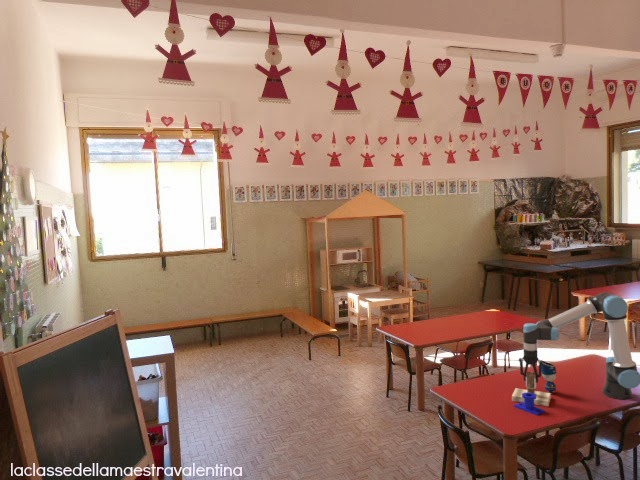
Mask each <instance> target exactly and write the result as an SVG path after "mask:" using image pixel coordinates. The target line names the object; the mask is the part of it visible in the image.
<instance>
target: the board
mask: <svg viewBox="0 0 640 480" xmlns="http://www.w3.org/2000/svg"><path fill="white" fill-rule="evenodd" d="M523 393H528V389H524V388H517V387H515V389H514V391H513V392H512V395H511V401H512V402H518V403H521V402H524V398H523V397H522V394H523ZM533 394H535V395H536V399H534V405H537V406H543V407H549V406H550V402H551V397H552V395H551V394H552V393H549V392H547V391H546V392H545V391H540V390H539V391H538V390H535V393H533Z"/></svg>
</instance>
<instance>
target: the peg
mask: <svg viewBox="0 0 640 480" xmlns="http://www.w3.org/2000/svg"><path fill="white" fill-rule="evenodd" d="M526 375H527V387H526V388H527V390H528V393H535V391H536V388H534V377H535V373H534V371H527V374H526Z"/></svg>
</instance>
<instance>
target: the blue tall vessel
mask: <svg viewBox="0 0 640 480" xmlns="http://www.w3.org/2000/svg"><path fill="white" fill-rule="evenodd" d="M542 361H543V362H542V370H541V376H542V377H543V379H544V380H546V383H545V385H544V390H545V391H546V392H548V393H551V394H554V392H556V391H557V386H556V384H555V382H554V381H555V380H556V379H557V369H556V365H555V364H554V363H551V362H547V361H544V360H542Z"/></svg>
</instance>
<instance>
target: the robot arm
mask: <svg viewBox="0 0 640 480" xmlns="http://www.w3.org/2000/svg"><path fill="white" fill-rule="evenodd" d="M628 311H629V306H628V303H627V301H626V300H625V299H624V298H622V297H621V296H619V295H616V294H614V293H612V292H608V291H607V292H606V291H605V292H602V293H601V292H600V293H598V294H596V295H594V296H592V297H590V298H587V300H586V301H585V302H583V303H581V304H579V305H577V306H573V307H572V308H569V309H568V310H565V311H563V312H562V313H559V314H557V315H555V316H553V317H550V318H548V319H546V320H539V321H537V322H536V323H532V322H529V323H528V322H527V323H524V324H523V330H522V332H523V357H519V358H518V361H519V369H520V371H519V372H520V375H521V376H523V381H524V382H525V388H528V387H527V372H528V368H529V365H531V366H532V367H533V372H534V388H535V389H537V384H538V383H539V378H541V377H542V371H541V370H542V362H543V361H544V360H543V359H542V360H541V359H539V357H538V341H558V340H559V339H560V331H559V329H561V328H563V327H565V326H567V325H570V324H572V323H574V322H576V321H579V320H581V319H583V318H585V317H588V316H590V315H593V314H599V313H601V312H602V315H603V320H605V321H607V327H608V331H609V337H610V342H611V346H612V347H611V348H612V352H613V356H608V357H606V359H605V360H606V361H605V369H606V370H605V371H606V372H605V373H606V376H605V378H606V380H605V383H604V385H603V388H602V393H603V395H604V396H606V397H609V398H613V399H615V400H616V399H617V400H629V399H630V400H631V399H632V398H633V391H632V389H634V388H637V387H639V385H640V372H639V371H638V369H637V363H636V362H635V361H634V360H633V358H632V357H633V356H632V353H631V352H632V351H631V348H630V341H629V336H628V331H627V326H626V319H627V318H628V315H627V313H628ZM523 361H524V362H525V368H524V364H523V363H524V362H523ZM537 363H538V370H537Z"/></svg>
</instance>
